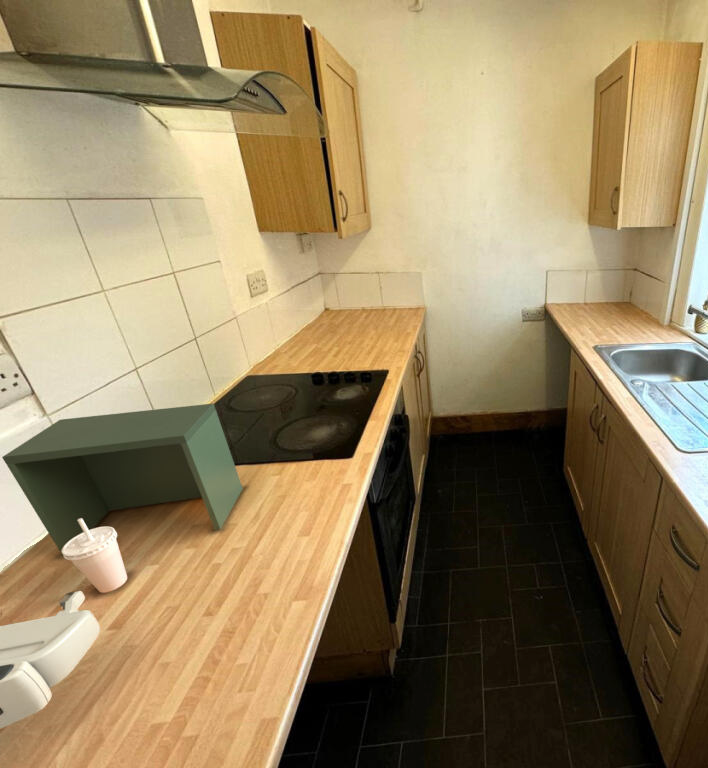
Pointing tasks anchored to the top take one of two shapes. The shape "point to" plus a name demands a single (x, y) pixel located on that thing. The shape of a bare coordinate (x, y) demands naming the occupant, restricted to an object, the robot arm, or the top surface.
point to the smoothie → (97, 557)
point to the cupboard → (125, 466)
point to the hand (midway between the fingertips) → (36, 602)
